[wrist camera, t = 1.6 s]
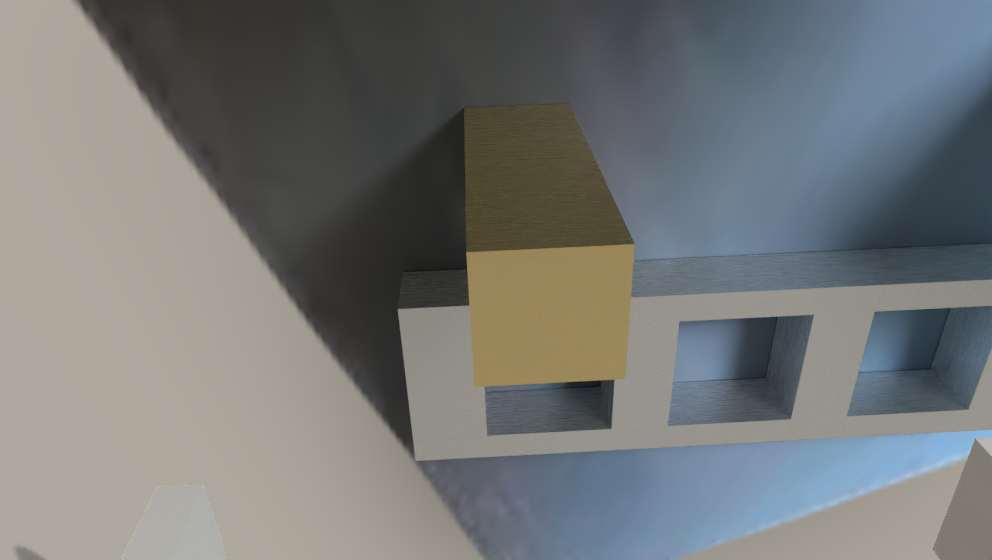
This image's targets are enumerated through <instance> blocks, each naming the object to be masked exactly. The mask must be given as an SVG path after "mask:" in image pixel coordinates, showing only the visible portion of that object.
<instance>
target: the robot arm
mask: <svg viewBox="0 0 992 560" xmlns="http://www.w3.org/2000/svg"><path fill="white" fill-rule="evenodd" d="M933 550H934V551H935V553H936V554H937V556H938V557H939V558H940V560H992V438H980V439H975V441H974V444H973V446H972V449H971V452H970V454H969V457H968V459H967V462H966V464H965V467H964V470H963V472H962V475H961V477H960V480H959V483H958V485H957V488H956V490H955V493H954V496H953V499H952V501H951V503H950V506H949V508H948V511H947V514H946V516H945V519H944V521H943V524H942V526H941V529H940V532H939V534H938V537H937V539H936V542H935V545H934V547H933ZM121 560H228V558H227V555H226V552H225V549H224V546H223V543H222V540H221V537H220V534H219V531H218V528H217V525H216V522H215V519H214V516H213V512H212V510H211V506H210V503H209V500H208V497H207V494H206V491H205V488H204V485H203V484H187V485H169V486H157V487H156V489H155V491H154V493H153V496H152V497H151V499H150V501H149V503H148V506H147V507H146V509H145V512H144V513H143V515H142V518H141V520H140V522H139V524H138V526H137V528H136V530H135V532H134V534H133V536H132V538H131V540H130V542H129V544H128V546H127V548H126V550H125V552H124V554H123V556H122V558H121Z"/></svg>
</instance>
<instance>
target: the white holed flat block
mask: <svg viewBox="0 0 992 560" xmlns="http://www.w3.org/2000/svg"><path fill="white" fill-rule="evenodd" d="M936 308H950V311H949V314H948V317H947V320H946V323H945V326H944V329H943V332H942V335H941V338H940V341H939V344H938V347H937V350H936V353H935V356H934V359H933V362H932V365H931V368H930V369H928V370H909V371H890V372H871V373H858V372H859V369H860V365H861V361H862V357H863V354H864V350H865V346H866V343H867V339H868V335H869V332H870V328H871V324H872V320H873V317H874V313H875V312H877V311H897V310H917V309H936ZM398 316H399V325H400V333H401V342H402V350H403V359H404V367H405V376H406V384H407V393H408V401H409V409H410V418H411V426H412V435H413V443H414V452H415V460H416V461H422V460H441V459H459V458H477V457H496V456H514V455H533V454H551V453H569V452H588V451H606V450H625V449H643V448H661V447H680V446H698V445H717V444H735V443H753V442H772V441H790V440H808V439H827V438H845V437H864V436H882V435H900V434H919V433H937V432H956V431H974V430H992V243H991V244H970V245H950V246H929V247H909V248H889V249H868V250H848V251H827V252H807V253H786V254H766V255H745V256H725V257H704V258H684V259H663V260H643V261H634V262H633V276H632V290H631V304H630V318H629V332H628V346H627V360H626V374H625V379H616V380H600V387H585V388H566V389H547V390H528V391H509V392H490V393H485V386H483V387H474V374H473V357H472V340H471V323H470V306H469V289H468V273H467V269H458V270H438V271H417V272H403V276H402V283H401V290H400V297H399V303H398ZM759 317H778V318H777V323H776V328H775V333H774V338H773V344H772V349H771V354H770V359H769V364H768V370H767V375H766V378H756V379H737V380H718V381H699V382H680V383H673V375H674V366H675V357H676V348H677V339H678V330H679V322H680V321H699V320H719V319H739V318H759Z"/></svg>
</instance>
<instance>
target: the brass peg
mask: <svg viewBox="0 0 992 560" xmlns="http://www.w3.org/2000/svg"><path fill="white" fill-rule="evenodd" d="M464 133H465V199H466V256H467V273H468V289H469V306H470V323H471V340H472V357H473V374H474V387H483V386H502V385H521V384H540V383H559V382H578V381H597V380H616V379H625V374H626V360H627V346H628V332H629V318H630V304H631V290H632V276H633V262H634V248H635V244H634V241H633V239H632V237H631V235H630V233H629V231H628V229H627V227H626V224H625V222H624V220H623V218H622V216H621V214H620V212H619V209H618V207H617V205H616V203H615V201H614V199H613V197H612V195H611V192H610V190H609V188H608V186H607V184H606V182H605V180H604V178H603V175H602V173H601V171H600V169H599V167H598V165H597V163H596V160H595V158H594V156H593V154H592V152H591V150H590V148H589V146H588V143H587V141H586V139H585V137H584V135H583V133H582V131H581V128H580V126H579V124H578V122H577V120H576V118H575V116H574V114H573V111H572V109H571V107H570V105H569V103H559V104H536V105H514V106H491V107H468V108H464Z"/></svg>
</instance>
